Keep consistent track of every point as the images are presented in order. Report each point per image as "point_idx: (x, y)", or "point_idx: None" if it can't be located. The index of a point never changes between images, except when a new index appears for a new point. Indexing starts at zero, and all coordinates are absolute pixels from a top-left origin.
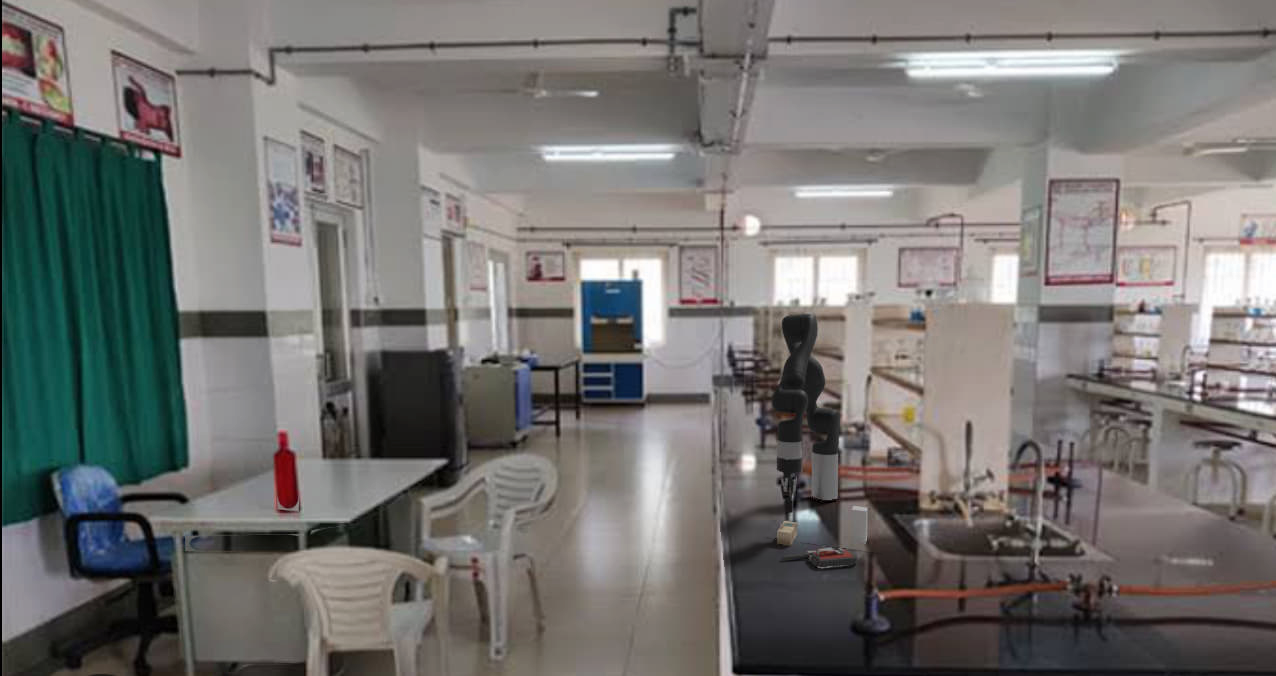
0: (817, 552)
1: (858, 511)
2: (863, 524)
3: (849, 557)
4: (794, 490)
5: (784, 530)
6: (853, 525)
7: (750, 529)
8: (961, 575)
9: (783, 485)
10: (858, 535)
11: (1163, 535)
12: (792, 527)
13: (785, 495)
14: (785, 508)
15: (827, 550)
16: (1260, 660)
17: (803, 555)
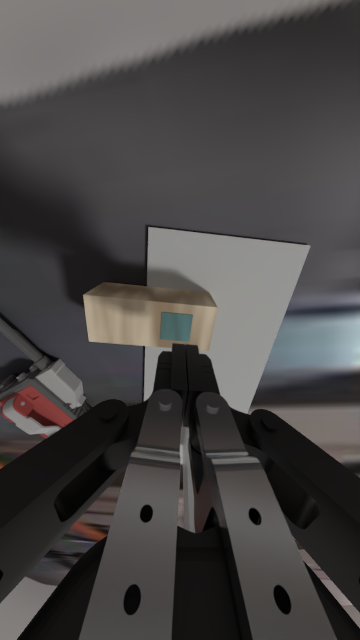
0: (10, 401)
1: None
2: (184, 494)
3: None
4: (196, 527)
5: (102, 319)
6: (186, 474)
7: (241, 151)
8: (110, 513)
9: (89, 616)
10: (184, 455)
11: None
12: (148, 341)
13: (102, 448)
14: (172, 354)
15: (16, 424)
16: (49, 584)
17: (31, 359)
